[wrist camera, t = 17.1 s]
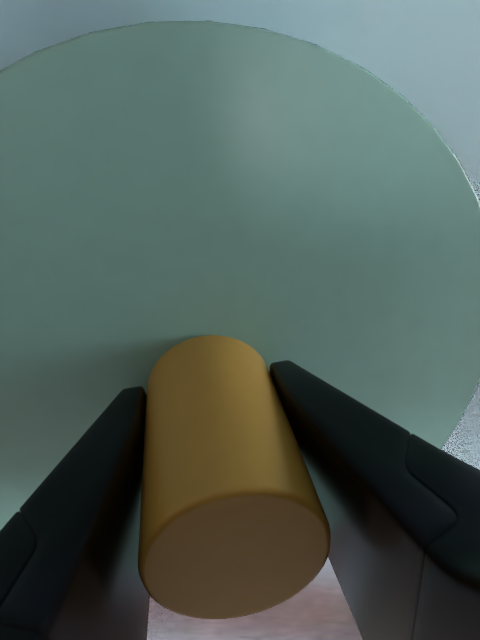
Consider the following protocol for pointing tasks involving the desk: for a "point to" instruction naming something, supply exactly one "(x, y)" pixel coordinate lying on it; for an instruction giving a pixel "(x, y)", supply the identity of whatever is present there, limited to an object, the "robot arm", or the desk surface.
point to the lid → (223, 282)
